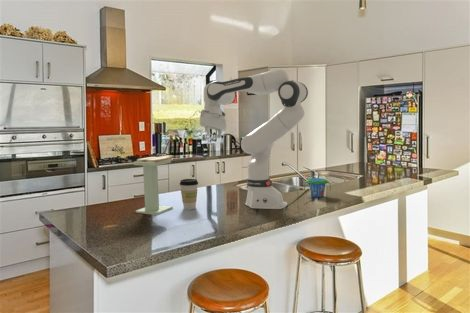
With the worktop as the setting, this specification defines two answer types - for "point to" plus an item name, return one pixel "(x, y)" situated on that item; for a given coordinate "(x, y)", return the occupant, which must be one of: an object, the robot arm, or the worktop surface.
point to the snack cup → (317, 186)
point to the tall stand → (152, 188)
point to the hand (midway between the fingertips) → (214, 136)
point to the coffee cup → (189, 193)
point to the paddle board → (155, 159)
